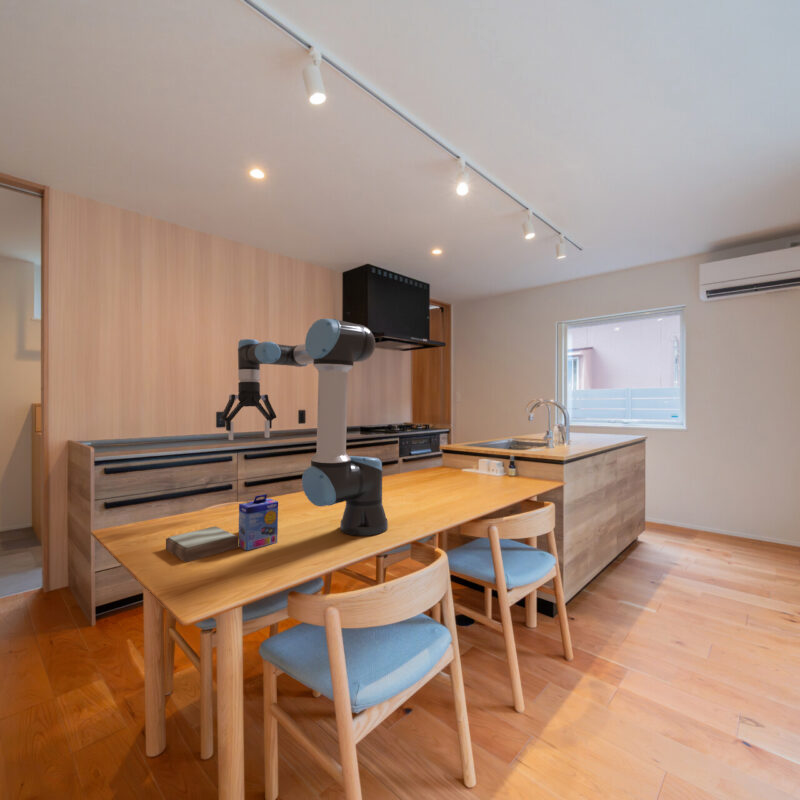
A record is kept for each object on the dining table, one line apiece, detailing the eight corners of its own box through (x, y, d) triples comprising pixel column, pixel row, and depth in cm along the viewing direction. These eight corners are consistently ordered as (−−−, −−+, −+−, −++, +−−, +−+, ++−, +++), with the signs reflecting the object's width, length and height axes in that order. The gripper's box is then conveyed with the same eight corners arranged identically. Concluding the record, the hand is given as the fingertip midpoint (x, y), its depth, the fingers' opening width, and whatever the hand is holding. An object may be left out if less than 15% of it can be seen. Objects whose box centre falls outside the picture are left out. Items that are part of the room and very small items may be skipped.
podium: (238, 547, 115) (238, 535, 115) (185, 562, 104) (185, 549, 104) (216, 536, 124) (216, 525, 124) (165, 549, 113) (165, 537, 113)
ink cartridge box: (246, 551, 111) (246, 498, 111) (237, 546, 115) (237, 495, 115) (279, 542, 119) (279, 492, 119) (269, 538, 122) (269, 489, 122)
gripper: (276, 382, 163) (276, 436, 163) (210, 381, 146) (211, 440, 146) (284, 382, 158) (285, 437, 157) (217, 380, 141) (218, 441, 141)
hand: (249, 438), depth 152 cm, fingers open, 13 cm apart
